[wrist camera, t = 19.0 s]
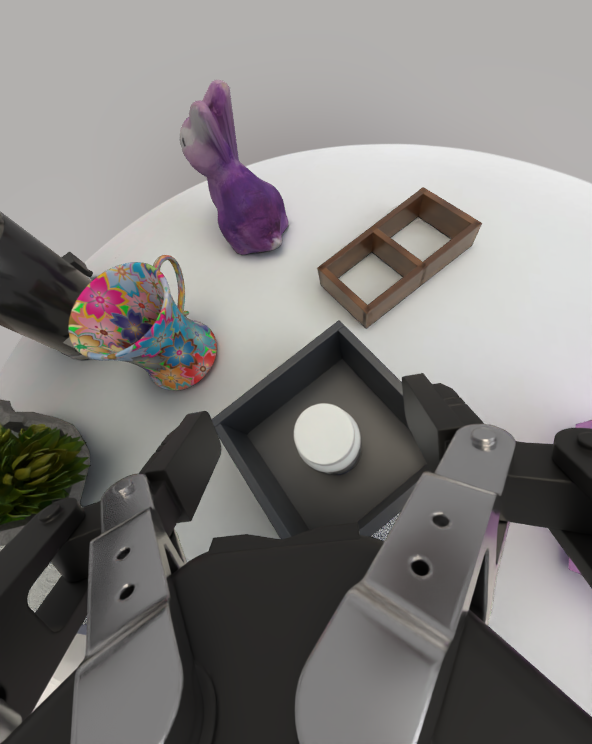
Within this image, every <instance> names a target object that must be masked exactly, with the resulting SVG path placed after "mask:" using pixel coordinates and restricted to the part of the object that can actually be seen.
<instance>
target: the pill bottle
mask: <svg viewBox="0 0 592 744" xmlns="http://www.w3.org/2000/svg"><path fill="white" fill-rule="evenodd" d="M294 441H295V444H296V447H297V450H298V453H299V455H300V456H301V458H302V459H303V461H304V462H305V463H306V464H307V465H309V466H310V467H311V468H313V469H315V470H317V471H320V472H325V473H327V474H343V473H346V472H348V471H349V470H351V469H352V468H353V467H354V466H355V465H356V464H357V462H358V460H359V458H360V455H361V434H360V430H359V428H358V425H357V423H356V422H355V420H354V419H353V418H352V417H351V416H350V415H349V414H348V413H347V412H345V411H344V410H342V409H341V408H339V407H337V406H335V405H332V404H326V403H322V404H316V405H313V406H311V407H309V408H307V409H306V410H304V411H303V412H302V413H301V415H300V416H299V418H298V419H297V421H296V424H295V427H294Z"/></svg>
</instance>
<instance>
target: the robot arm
mask: <svg viewBox="0 0 592 744" xmlns="http://www.w3.org/2000/svg"><path fill="white" fill-rule="evenodd" d="M92 274H93V272H92V271H90V270H88V269H87V267H86V265H85V263H83V262H82V261H81V260H80V259H78V258H77V257H76V256H75V255H73V254H72V253H71V252H68V253H67V254H66V255H64V256H63V257H60V256H59V255H57V254H56V253H54V252H53V251H52V250H51V249H49V248H48V247H47V246H45V245H44V244H43V243H41V242H40V241H39V240H37V239H36V238H35V237H33V236H32V235H31V234H29V233H28V232H27V231H26V230H24V229H23V228H22V227H20V226H19V225H18V224H16V223H15V222H14V221H12V220H11V219H10V218H8V217H7V216H6V215H4V214H3V213H2V212H0V325H1V326H3V327H6V328H8V329H10V330H12V331H15V332H17V333H19V334H21V335H23V336H26V337H28V338H30V339H32V340H35V341H37V342H39V343H41V344H44V345H46V346H48V347H50V348H53V349H55V350H57V351H59V352H61V353H63V354H64V355H67V356H69V357H71V358H74V359H78V360H85V359H90V358H88V357H86V356H84V355H82V354H81V353H79V352H78V351H77V350H76V349H75V347H74V346H73V344H72V342H71V340H70V336H69V319H70V314H71V311H72V309H73V306H74V304H75V302H76V300H77V299H78V297H79V296H80V294H81V293H82V291H83V290H84V289H85V288H86V287H87V286H88V285H89V284H90V283H91V282H92V280H90V279H89V278H88V277H91V276H92ZM87 276H88V277H87ZM402 388H403V398H404V408H405V416H406V420H407V424H408V426H409V429H410V431H411V433H412V435H413V437H414V439H415V441H416V443H417V445H418V447H419V449H420V451H421V453H422V455H423V457H424V459H425V461H426V463H427V465H428V467H429V469H430V471H431V472H430V471H425V472H424V473H423V474H422V476H421V477H420V479H419V481H418V482H417V484H416V486H415V488H414V490H413V491H412V493H411V495H410V497H409V498H408V500H407V502H406V504H405V506H404V507H403V509H402V511H401V513H400V514H399V516H398V518H397V520H396V522H395V523H394V525H393V527H392V529H391V530H390V532H389V534H388V536H387V538H386V539H385V541H382V540H379V539H376V538H373V537H369V536H363V535H360V531H359V526H358V522H356V523H346V524H337V525H328V526H320V527H317V528H314V529H311V530H308V531H305V532H303V533H300V534H297V535H294V536H291V537H288V538H285V539H274V538H267V537H261V536H255V535H248V534H245V535H235V536H226V537H217V538H213V540H212V543H211V546H210V549H209V552H206V553H204V554H201V555H199V556H197V557H195V558H194V559H192V560H190V561H189V562H186V559H185V556H184V552H183V549H182V546H181V543H180V540H179V537H178V534H177V532H176V531H175V529H174V527H175V525H176V523H180V522H189V521H191V520H192V518H193V516H194V514H195V511H196V509H197V507H198V505H199V502H200V500H201V498H202V495H203V493H204V491H205V489H206V486H207V484H208V482H209V480H210V477H211V475H212V473H213V471H214V468H215V466H216V464H217V462H218V459H219V457H220V454H221V443H220V440H219V437H218V435H217V432H216V430H215V427H214V425H213V422H212V420H211V417H210V415H209V413H208V412H206V411H202V412H196V413H191V414H187V415H186V417H185V418H184V419H183V421H182V422H181V423H180V425H179V426H178V427H177V428H176V429H175V430H174V431H172V432H171V433H170V434H169V435H167V437H166V438H165V439H164V441H163V442H162V443H161V445H160V446H159V447H158V449H157V450H156V453H154V454H153V455H152V456H151V458H150V459H149V460H148V462H147V463H146V464H145V466H144V467H143V468H142V470H141V471H140V472H139V474H133V475H130V476H127V477H125V478H123V479H121V480H119V481H118V482H116V483H115V484H113V485H112V486H111V487H110V488H109V489H108V490H107V491H106V492H105V493H104V494H103V496H102V498H101V501H99V502H97V503H94V504H91V505H88V506H86V507H83V508H82V507H81V505H80V504H79V502H78V501H77V500H76V499H75V498H73V497H69V498H64V499H61V500H59V501H56V502H54V503H52V504H51V505H49V506H47V507H46V508H44V509H43V510H41V511H40V512H39V513H38V514H36V515H35V516H34V517H33V518H32V519H31V520H30V521H29V522H28V523H27V524H26V525H25V526H24V527H23V528H22V529H21V531H20V532H19V533H18V534H17V535H16V536H15V537H14V538H13V539H12V540H11V541H10V542H9V543H8V544H7V545H6V546H5V547H4V548H3V549H2V550H1V551H0V744H592V717H591V716H590V715H589V714H588V713H586V712H585V711H584V710H583V709H582V708H581V707H580V706H579V705H577V704H576V703H575V702H574V701H573V700H572V699H571V698H569V697H568V696H567V695H566V694H565V693H564V692H563V691H561V690H560V689H559V688H558V687H557V686H556V685H555V684H553V683H552V682H551V681H550V680H549V679H548V678H547V677H546V676H544V675H543V674H542V673H541V672H540V671H539V670H538V669H536V668H535V667H534V666H533V665H532V664H531V663H530V662H528V661H527V660H526V659H525V658H524V657H523V656H522V655H521V654H519V653H518V652H517V651H516V650H515V649H514V648H513V647H511V646H510V645H509V644H508V643H507V642H506V641H505V640H503V639H502V638H501V637H500V636H499V635H498V634H497V633H496V632H494V631H493V630H492V629H491V628H490V627H489V626H488V624H489V620H490V615H491V610H492V605H493V599H494V592H495V585H496V579H497V574H498V570H499V566H500V562H501V557H502V553H503V549H504V545H505V540H506V536H507V532H508V528H509V524H510V522H514V523H520V524H526V525H533V526H539V527H545V528H548V529H549V530H550V531H551V533H552V534H553V536H554V537H555V538H556V540H557V541H558V542H559V544H560V545H561V547H562V548H563V549H564V551H565V552H566V553H567V555H568V556H569V558H570V559H571V560H572V562H573V563H574V565H575V566H576V567H577V569H578V570H579V571H580V573H581V574H582V576H583V577H584V578H585V580H586V581H587V582H588V584H589V585H590V587H591V588H592V429H590V428H569V429H565V430H562V431H560V432H558V433H557V434H556V435H555V438H554V444H539V443H525V442H518V441H515V439H514V438H513V436H512V435H511V434H510V433H508V432H507V431H505V430H504V429H501V428H499V427H496V426H492V425H487V424H484V423H483V422H482V421H481V420H480V418H479V417H478V416H477V415H476V414H475V413H474V412H473V411H472V410H471V409H470V408H469V406H468V405H467V404H465V402H464V401H463V400H462V399H461V398H459V396H458V394H457V393H456V392H455V391H454V390H453V389H452V388H450V387H448V386H445V385H443V384H441V383H438V384H431V382H430V381H429V380H428V379H427V377H426V376H425V375H424V374H423V373H421V374H415V375H409V376H404V377H402ZM50 562H51V563H52V564H53V565H54V566H55V567H56V569H57V570H58V571H59V572H60V574H61V575H62V576H61V577H60V579H59V580H58V581H57V583H56V584H55V586H54V587H53V588H52V590H51V591H50V593H49V594H48V596H47V597H46V598H45V600H44V601H43V603H42V604H41V605H40V607H39V608H38V610H37V611H36V612H35V613H34V612H33V611H32V610H31V609H30V607H29V606H28V603H27V597H28V593H29V590H30V588H31V587H32V585H33V584H34V582H35V581H36V580H37V578H38V577H39V576H40V575H41V573H42V572H43V571H44V569H45V568H46V567H47V566H48V564H49V563H50ZM86 616H87V630H86V653H85V657H84V659H83V661H82V662H81V663H80V664H79V666H78V668H77V669H76V670H74V671H73V672H72V673H71V674H70V675H69V676H68V677H67V678H66V679H65V680H64V681H63V682H62V683H61V684H60V685H59V686H58V687H57V688H56V689H55V690H54V691H53V692H52V693H51V694H50V695H49V696H48V697H47V698H46V699H45V700H44V701H43V702H42V703H41V704H40V705H39V706H38V707H37V708H36V709H35V710H34V708H35V706H36V705H37V703H38V701H39V699H40V697H41V696H42V694H43V692H44V690H45V689H46V687H47V685H48V683H49V682H50V680H51V678H52V676H53V674H54V673H55V671H56V669H57V667H58V666H59V664H60V662H61V660H62V659H63V657H64V655H65V653H66V651H67V650H68V648H69V646H70V644H71V643H72V641H73V639H74V637H75V636H76V634H77V632H78V630H79V629H80V627H81V625H82V623H83V621H84V620H85V618H86ZM33 710H34V711H33Z"/></svg>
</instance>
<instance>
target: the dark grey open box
mask: <svg viewBox="0 0 592 744" xmlns="http://www.w3.org/2000/svg"><path fill="white" fill-rule="evenodd" d="M322 403H326V404H332V405H335V406H337V407H339V408H341V409H342V410H344V411H345V412H347V413H348V414H349V415H350V416H351V417H352V418H353V419H354V420H355V422H356V423H357V425H358V428H359V430H360V434H361V455H360V458H359V460H358V462H357V464H356V465H355V466H354V467H353V468H352V469H351V470H349V471H348V472H346V473H343V474H327V473H325V472H320V471H317V470H315V469H313V468H311V467H310V466H309V465H307V464H306V463H305V462H304V461H303V459H302V458H301V456H300V455H299V453H298V450H297V447H296V444H295V441H294V427H295V424H296V421H297V419H298V418H299V416H300V415H301V413H302V412H303V411H304V410H306V409H307V408H309V407H311V406H313V405H316V404H322ZM212 422H213V425H214V427H215V430H216V432H217V435H218V437H219V438H220V440H221V441H222V443H223V445H224V446H225V448H226V450H227V451H228V453H229V455H230V456H231V458H232V460H233V461H234V463H235V464H236V466H237V468H238V469H239V471H240V473H241V474H242V476H243V478H244V479H245V481H246V483H247V484H248V486H249V487H250V489H251V491H252V492H253V494H254V496H255V497H256V499H257V501H258V502H259V504H260V506H261V507H262V509H263V510H264V512H265V514H266V515H267V517H268V519H269V520H270V522H271V524H272V525H273V527H274V529H275V530H276V532H277V534H278V535H279V537H280V538H281V539H285V538H288V537H291V536H294V535H297V534H300V533H303V532H305V531H308V530H311V529H314V528H317V527H320V526H328V525H337V524H346V523H356V522H358V526H359V531H360V535H363V536H369V537H371V536H372V535H373V534H374V533H376V532H377V531H378V530H379V529H380V528H382V527H383V526H384V525H385V524H386V523H387V522H389V521H390V520H391V519H392V518H393V517H395V516H396V515H397V514H398V513H399V512H401V511H402V509H403V507H404V506H405V504H406V502H407V500H408V498H409V497H410V495H411V493H412V491H413V490H414V488H415V486H416V484H417V482H418V481H419V479H420V477H421V476H422V474H423V473H424V472H425V471H430V469H429V467H428V465H427V463H426V461H425V459H424V457H423V455H422V453H421V451H420V449H419V447H418V445H417V443H416V441H415V439H414V437H413V435H412V433H411V431H410V429H409V426H408V424H407V420H406V416H405V408H404V398H403V388H402V382H401V381H400V380H399V379H398V378H397V377H396V376H395V375H394V374H393V373H392V372H391V371H390V370H389V369H388V368H387V367H386V366H385V365H384V364H383V363H382V362H381V361H380V360H379V359H378V358H377V357H376V356H375V355H374V354H373V353H372V352H371V351H370V350H369V349H368V348H367V347H366V346H365V345H364V344H363V343H362V342H361V341H360V340H359V339H358V338H357V337H356V336H355V335H354V334H353V333H352V332H351V331H349V330H348V329H347V328H346V327H345V326H344V325H343V324H342V323H341V322H340V321H339V320H338V321H337V322H336V323H335V324H333V325H332V326H331V327H329V328H328V329H327V330H326V331H324V332H323V333H322V334H320V335H319V336H318V337H317V338H315V339H314V340H313V341H311V342H310V343H309V344H308V345H306V346H305V347H304V348H303V349H301V350H300V351H299V352H297V353H296V354H295V355H294V356H292V357H291V358H290V359H288V360H287V361H286V362H285V363H283V364H282V365H281V366H279V367H278V368H277V369H276V370H274V371H273V372H272V373H270V374H269V375H268V376H267V377H265V378H264V379H263V380H262V381H260V382H259V383H258V384H256V385H255V386H254V387H253V388H251V389H250V390H249V391H247V392H246V393H245V394H244V395H242V396H241V397H240V398H238V399H237V400H236V401H235V402H233V403H232V404H231V405H229V406H228V407H227V408H226V409H224V410H223V411H222V412H221V413H219V414H218V415H217V416H215V417H214V418H213V419H212ZM430 472H431V471H430Z"/></svg>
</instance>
